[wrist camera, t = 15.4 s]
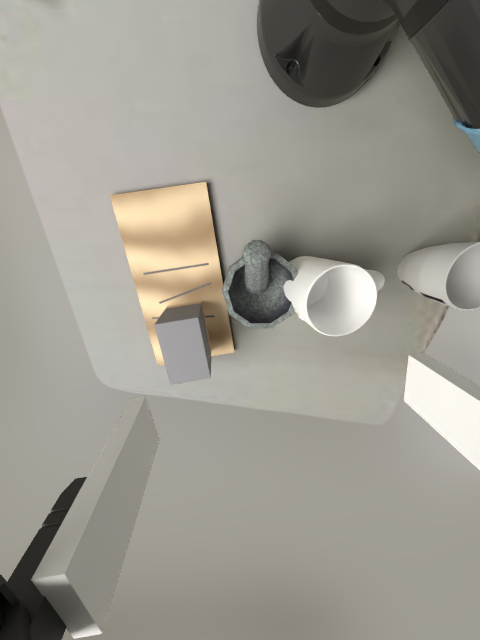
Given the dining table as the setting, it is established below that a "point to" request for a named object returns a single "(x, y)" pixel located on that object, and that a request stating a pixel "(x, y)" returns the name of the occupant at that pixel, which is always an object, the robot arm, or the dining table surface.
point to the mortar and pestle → (258, 287)
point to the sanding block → (184, 342)
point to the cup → (445, 274)
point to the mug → (333, 294)
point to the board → (174, 256)
